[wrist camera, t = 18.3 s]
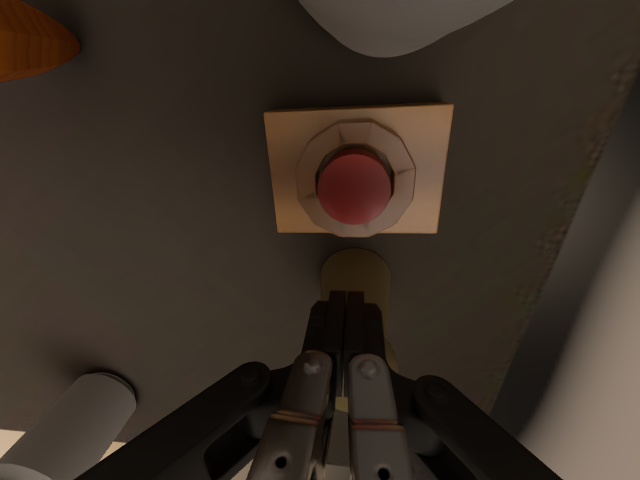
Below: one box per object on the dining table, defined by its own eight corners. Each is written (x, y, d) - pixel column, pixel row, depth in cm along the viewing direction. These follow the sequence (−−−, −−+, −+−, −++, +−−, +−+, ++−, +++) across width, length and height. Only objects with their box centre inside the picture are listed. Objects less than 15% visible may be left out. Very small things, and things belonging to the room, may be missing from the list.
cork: (405, 267, 25) (433, 383, 15) (368, 317, 28) (372, 442, 18) (339, 235, 24) (325, 335, 15) (308, 289, 27) (279, 403, 17)
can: (100, 358, 35) (-14, 477, 24) (152, 396, 37) (68, 521, 26) (71, 382, 38) (-43, 498, 27) (121, 416, 40) (33, 536, 29)
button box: (429, 218, 23) (443, 246, 19) (285, 218, 24) (270, 244, 20) (443, 101, 19) (464, 105, 15) (274, 109, 21) (253, 114, 17)
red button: (386, 213, 19) (389, 225, 17) (322, 213, 19) (319, 224, 18) (390, 147, 17) (393, 152, 16) (319, 148, 18) (315, 155, 16)
